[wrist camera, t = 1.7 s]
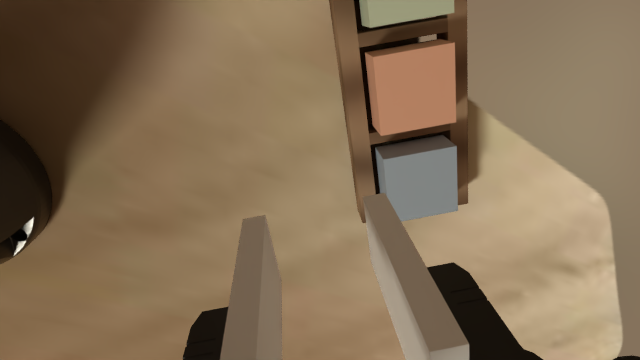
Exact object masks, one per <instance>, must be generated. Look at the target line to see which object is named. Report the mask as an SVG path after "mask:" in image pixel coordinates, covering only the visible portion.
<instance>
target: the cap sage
mask: <svg viewBox="0 0 640 360" xmlns="http://www.w3.org/2000/svg"><path fill="white" fill-rule="evenodd" d="M359 3H360V12H361V21H362V26H366V27H369V28H372V27H377V26H383V25H388V24H394V23H400V22H405V21H411V20H416V19H422V18H428V17H433V16H439V15H445V14H450V13H454V0H359Z"/></svg>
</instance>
